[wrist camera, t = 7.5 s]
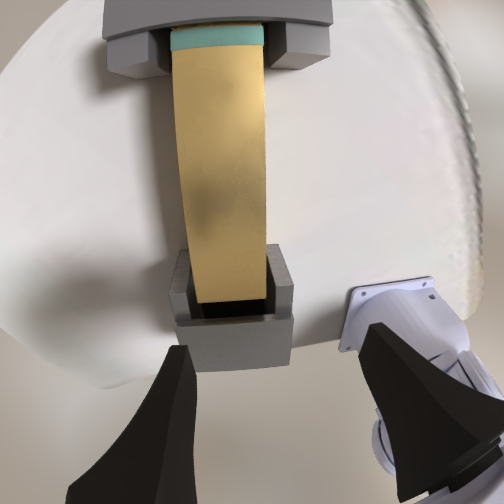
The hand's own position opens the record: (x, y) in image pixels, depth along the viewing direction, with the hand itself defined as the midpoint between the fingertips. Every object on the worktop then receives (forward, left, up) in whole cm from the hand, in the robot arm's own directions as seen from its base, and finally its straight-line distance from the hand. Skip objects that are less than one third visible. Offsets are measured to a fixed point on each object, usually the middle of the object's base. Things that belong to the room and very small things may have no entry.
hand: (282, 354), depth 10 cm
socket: (+2, -13, -10) cm, 17 cm away
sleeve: (+2, +4, -10) cm, 11 cm away
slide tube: (+2, -6, -10) cm, 12 cm away
